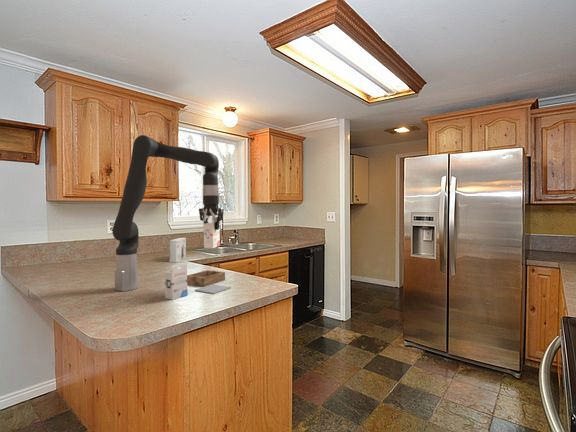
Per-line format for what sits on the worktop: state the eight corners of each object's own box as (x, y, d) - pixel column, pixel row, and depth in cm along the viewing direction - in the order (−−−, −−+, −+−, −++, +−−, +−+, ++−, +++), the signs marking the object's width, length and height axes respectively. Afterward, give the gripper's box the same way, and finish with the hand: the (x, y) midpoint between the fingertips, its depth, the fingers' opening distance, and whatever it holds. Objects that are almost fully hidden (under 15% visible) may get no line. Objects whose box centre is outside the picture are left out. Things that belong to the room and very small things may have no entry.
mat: (214, 294, 148) (214, 292, 148) (194, 291, 153) (194, 289, 153) (231, 288, 158) (231, 286, 158) (212, 285, 164) (212, 284, 164)
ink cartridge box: (210, 246, 162) (210, 216, 162) (220, 246, 161) (219, 216, 161) (203, 248, 154) (202, 217, 153) (213, 248, 153) (212, 217, 152)
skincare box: (177, 262, 233) (176, 240, 232) (169, 262, 233) (168, 240, 232) (186, 257, 254) (186, 237, 253) (179, 257, 254) (179, 237, 253)
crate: (225, 280, 175) (224, 272, 175) (204, 286, 161) (203, 278, 161) (207, 277, 181) (207, 270, 181) (186, 284, 167) (185, 275, 167)
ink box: (180, 293, 149) (180, 262, 148) (188, 295, 146) (187, 262, 146) (164, 298, 141) (164, 265, 141) (172, 300, 139) (171, 266, 138)
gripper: (194, 195, 157) (194, 229, 157) (217, 194, 150) (218, 230, 150) (204, 195, 163) (205, 228, 164) (227, 194, 157) (228, 229, 157)
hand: (211, 229), depth 157 cm, fingers closed on ink cartridge box, 6 cm apart
